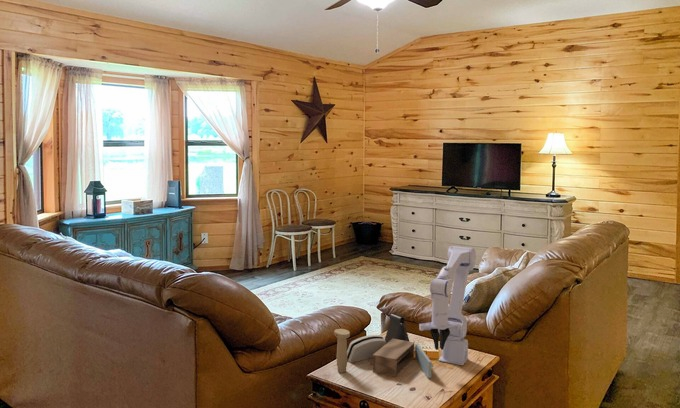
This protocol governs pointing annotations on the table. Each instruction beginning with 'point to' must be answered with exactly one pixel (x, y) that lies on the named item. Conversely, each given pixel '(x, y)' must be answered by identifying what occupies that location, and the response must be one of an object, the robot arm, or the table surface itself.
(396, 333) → the phone stand
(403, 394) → the table surface
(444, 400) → the table surface
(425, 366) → the door
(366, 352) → the grey curved piece
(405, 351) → the cabinet
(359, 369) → the table surface
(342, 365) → the handle
